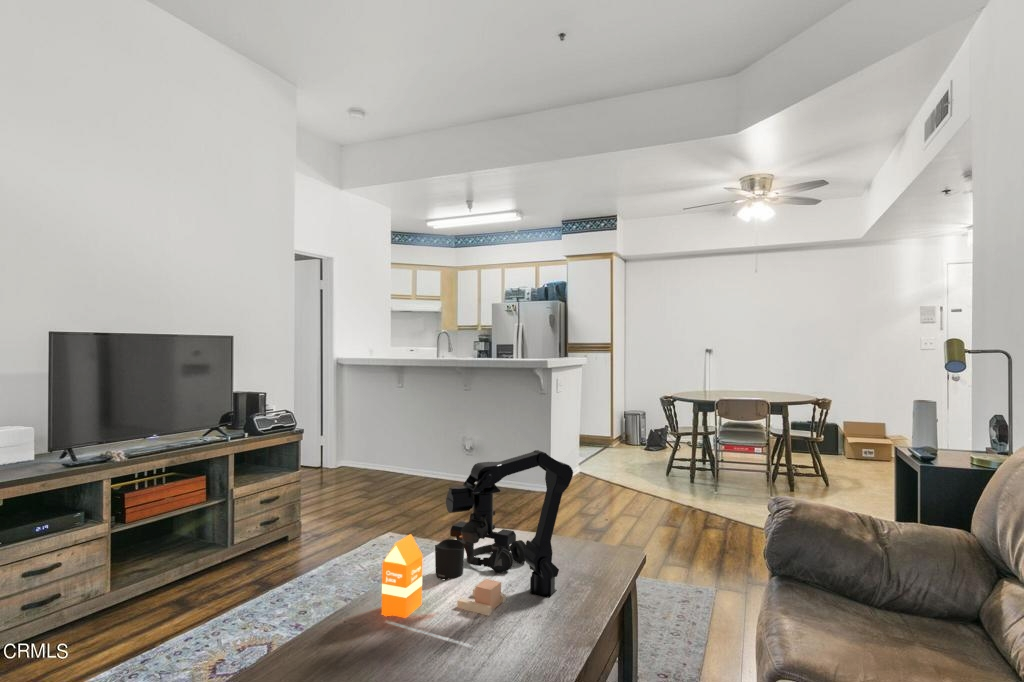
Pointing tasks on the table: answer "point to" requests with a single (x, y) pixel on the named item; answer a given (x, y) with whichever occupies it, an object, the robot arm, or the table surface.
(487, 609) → the beige railed tray
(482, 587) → the block
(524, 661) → the table surface
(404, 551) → the orange juice
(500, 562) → the headphones
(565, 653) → the table surface
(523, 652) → the table surface
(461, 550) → the pen holder
